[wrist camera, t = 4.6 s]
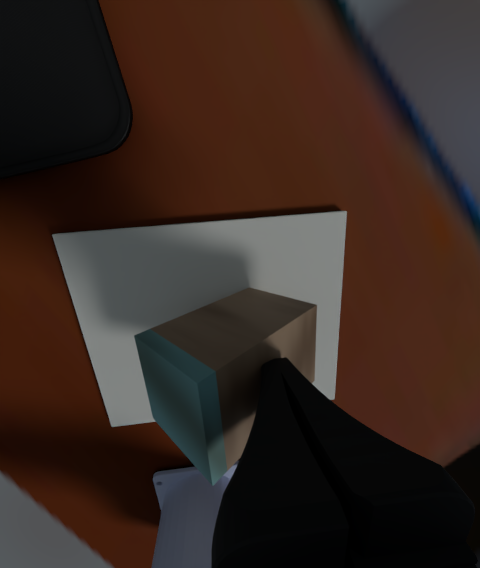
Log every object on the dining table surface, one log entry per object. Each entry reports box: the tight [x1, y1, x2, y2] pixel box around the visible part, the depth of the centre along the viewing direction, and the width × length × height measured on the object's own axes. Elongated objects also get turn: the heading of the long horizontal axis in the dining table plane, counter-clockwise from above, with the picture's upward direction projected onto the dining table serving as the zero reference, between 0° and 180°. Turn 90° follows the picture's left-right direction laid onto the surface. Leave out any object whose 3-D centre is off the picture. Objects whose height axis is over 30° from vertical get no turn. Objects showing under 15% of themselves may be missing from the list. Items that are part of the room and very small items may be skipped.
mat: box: [52, 211, 347, 427], centre depth 18 cm, size 15×18×1 cm
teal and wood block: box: [134, 288, 317, 486], centre depth 14 cm, size 5×5×8 cm
